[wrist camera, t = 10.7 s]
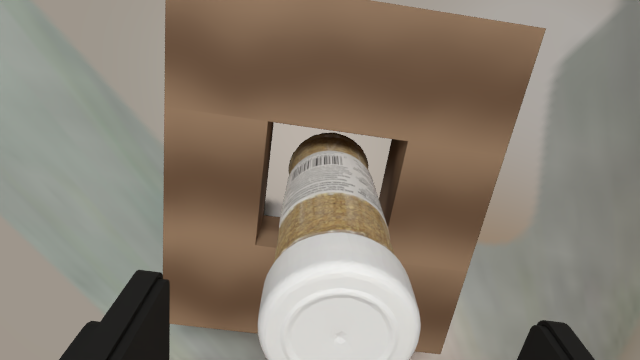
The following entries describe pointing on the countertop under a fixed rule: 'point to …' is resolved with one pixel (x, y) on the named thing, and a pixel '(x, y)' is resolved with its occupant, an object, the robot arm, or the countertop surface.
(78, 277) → the countertop surface
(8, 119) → the countertop surface
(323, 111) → the walnut hole board
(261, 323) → the sprinkles bottle
